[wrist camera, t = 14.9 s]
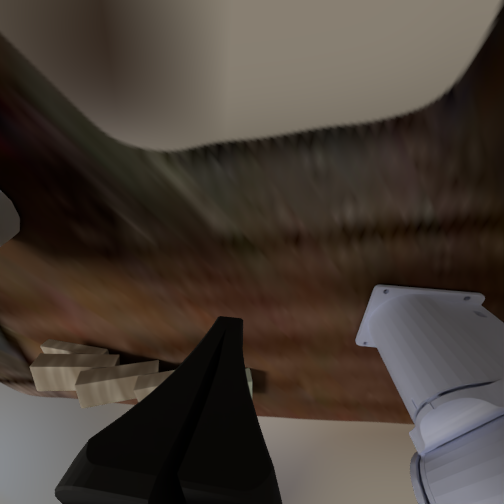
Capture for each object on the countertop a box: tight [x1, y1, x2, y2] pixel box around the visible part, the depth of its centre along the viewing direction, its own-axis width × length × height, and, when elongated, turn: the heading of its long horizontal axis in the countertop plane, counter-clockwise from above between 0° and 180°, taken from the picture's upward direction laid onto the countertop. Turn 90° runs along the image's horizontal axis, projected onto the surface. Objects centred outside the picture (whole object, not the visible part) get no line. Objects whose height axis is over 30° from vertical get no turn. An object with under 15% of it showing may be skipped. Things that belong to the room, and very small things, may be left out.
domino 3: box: [75, 360, 159, 408], centre depth 28 cm, size 2×5×9 cm
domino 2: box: [30, 353, 120, 391], centre depth 28 cm, size 2×5×9 cm
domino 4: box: [134, 370, 175, 402], centre depth 28 cm, size 2×5×9 cm
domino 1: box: [40, 339, 109, 355], centre depth 31 cm, size 2×5×9 cm
